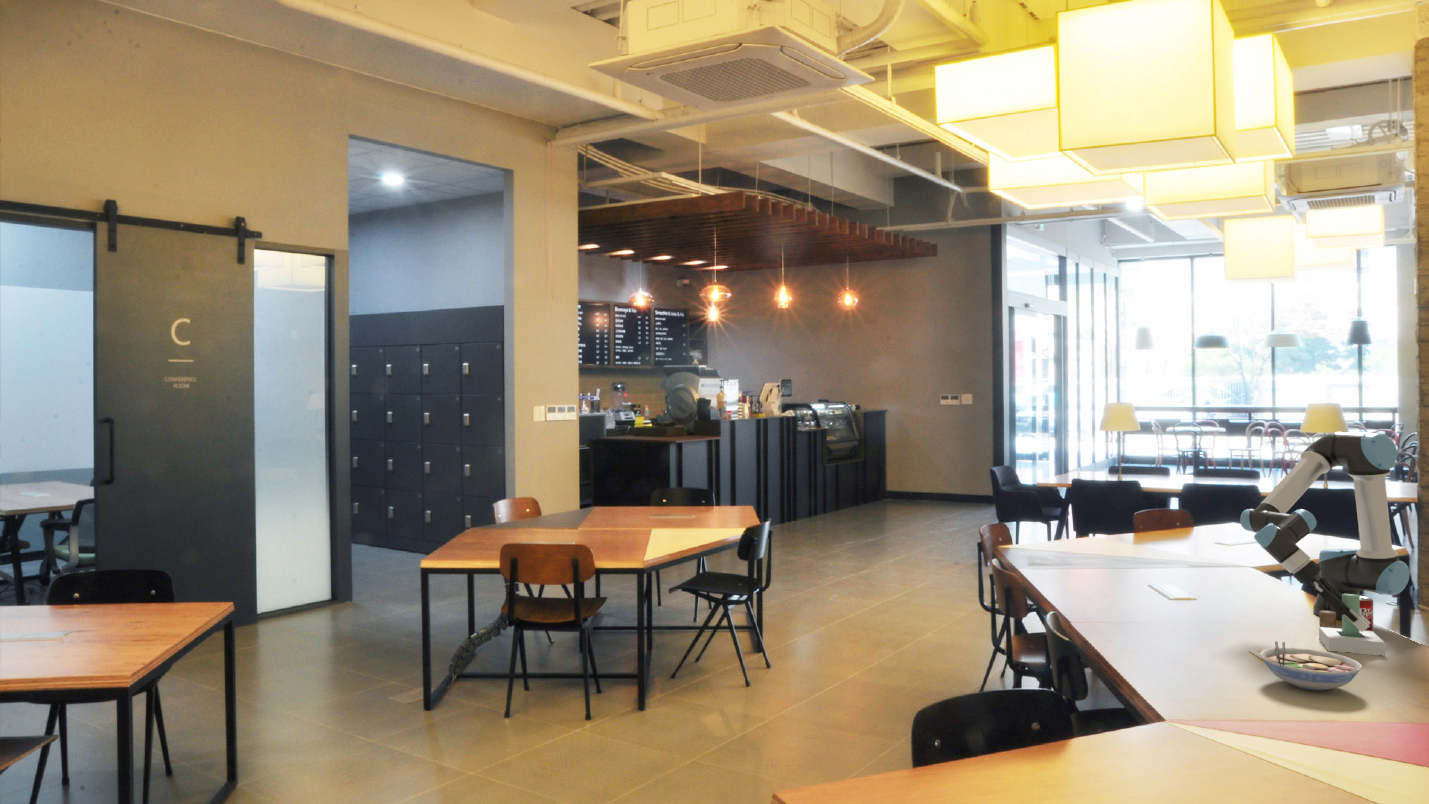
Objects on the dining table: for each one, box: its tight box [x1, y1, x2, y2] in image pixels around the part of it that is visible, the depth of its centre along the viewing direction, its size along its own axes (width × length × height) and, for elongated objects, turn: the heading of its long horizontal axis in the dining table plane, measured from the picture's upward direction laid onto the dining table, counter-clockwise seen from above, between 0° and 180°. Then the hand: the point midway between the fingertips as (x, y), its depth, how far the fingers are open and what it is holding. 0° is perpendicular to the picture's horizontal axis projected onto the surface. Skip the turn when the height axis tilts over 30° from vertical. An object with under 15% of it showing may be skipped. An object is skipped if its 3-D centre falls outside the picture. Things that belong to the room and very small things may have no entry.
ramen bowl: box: [1259, 640, 1363, 692], centre depth 244 cm, size 25×23×8 cm
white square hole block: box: [1318, 626, 1386, 657], centre depth 281 cm, size 14×14×4 cm
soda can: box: [1360, 595, 1374, 632], centre depth 295 cm, size 7×7×12 cm
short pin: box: [1319, 611, 1337, 628], centre depth 297 cm, size 4×4×7 cm
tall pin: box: [1341, 594, 1361, 638], centre depth 281 cm, size 4×4×14 cm
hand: (1365, 627), depth 279 cm, fingers closed on tall pin, 4 cm apart
